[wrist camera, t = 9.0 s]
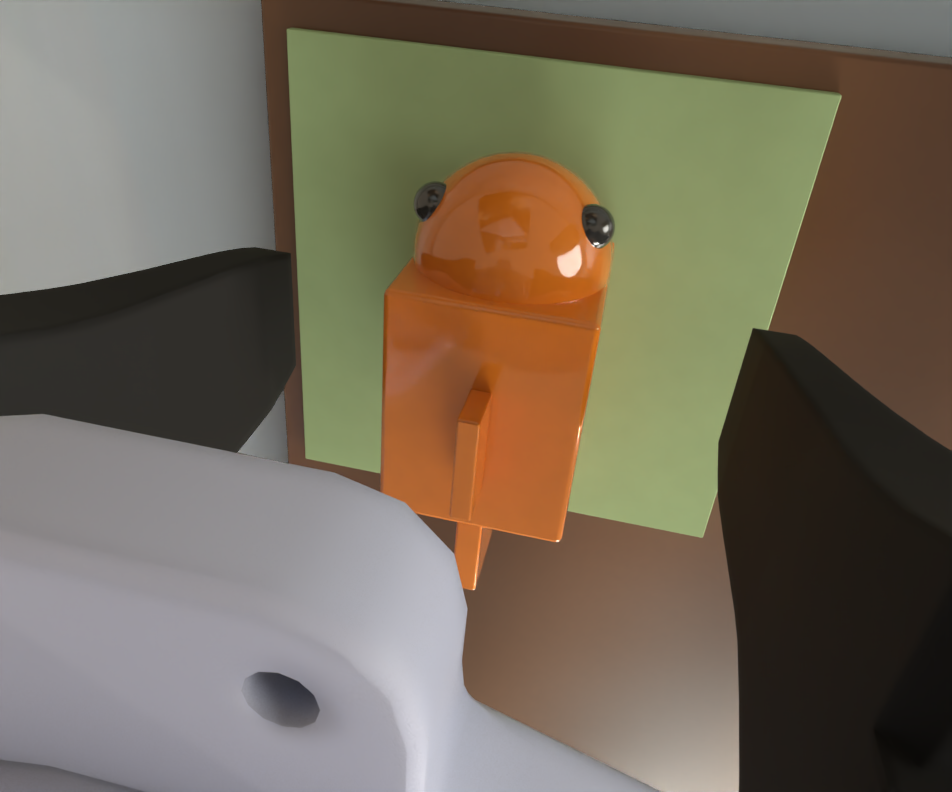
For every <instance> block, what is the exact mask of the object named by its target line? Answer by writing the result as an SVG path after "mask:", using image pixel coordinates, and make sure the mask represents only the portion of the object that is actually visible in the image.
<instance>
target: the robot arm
mask: <svg viewBox="0 0 952 792" xmlns="http://www.w3.org/2000/svg"><path fill="white" fill-rule="evenodd" d="M295 366H296V350H295V329H294V308H293V288H292V267H291V253H287V252H280V251H274V250H268V249H262V248H256V247H254V248H240V249H233V250H227V251H222V252H217V253H212V254H208V255H204V256H199V257H195V258H191V259H187V260H183V261H179V262H174V263H170V264H166V265H162V266H158V267H154V268H150V269H146V270H141V271H137V272H132V273H128V274H123V275H118V276H114V277H109V278H104V279H100V280H95V281H91V282H86V283H81V284H75V285H70V286H64V287H58V288H51V289H45V290H37V291H30V292H22V293H15V294H6V295H0V792H661V791H659V790H657V789H655V788H653V787H651V786H649V785H647V784H645V783H643V782H641V781H639V780H637V779H635V778H633V777H631V776H629V775H627V774H625V773H623V772H621V771H619V770H617V769H614V768H612V767H610V766H608V765H606V764H604V763H602V762H600V761H598V760H596V759H594V758H592V757H590V756H588V755H586V754H584V753H582V752H580V751H578V750H576V749H574V748H572V747H570V746H568V745H566V744H564V743H562V742H560V741H558V740H556V739H554V738H552V737H549V736H547V735H545V734H543V733H541V732H539V731H537V730H535V729H533V728H531V727H529V726H527V725H525V724H523V723H521V722H519V721H517V720H515V719H513V718H511V717H509V716H507V715H505V714H503V713H501V712H499V711H497V710H495V709H493V708H491V707H489V706H487V705H485V704H482V703H480V702H478V701H476V700H475V699H474V698H473V697H472V696H471V695H470V694H469V693H468V692H467V690H466V688H465V686H464V680H463V668H462V656H463V647H464V637H465V628H466V619H467V609H468V608H467V604H466V600H465V596H464V592H463V588H462V584H461V580H460V576H459V572H458V567H457V563H456V559H455V555H454V553H453V552H452V551H451V550H450V549H449V548H448V547H447V546H446V545H445V544H444V543H443V542H442V541H441V540H440V539H439V537H438V536H437V535H436V534H435V533H434V532H433V531H432V530H431V529H430V528H429V527H428V526H427V525H426V524H425V523H424V522H423V521H422V520H421V519H420V518H419V517H418V516H417V514H416V513H415V512H414V511H413V510H412V509H411V508H410V507H409V506H408V505H407V504H406V503H405V502H403V501H400V500H398V499H395V498H393V497H391V496H388V495H386V494H384V493H381V492H379V491H377V490H374V489H372V488H370V487H367V486H365V485H362V484H360V483H358V482H355V481H353V480H351V479H348V478H346V477H344V476H341V475H339V474H336V473H334V472H329V471H324V470H319V469H314V468H309V467H304V466H299V465H294V464H289V463H284V462H279V461H274V460H269V459H264V458H259V457H254V456H249V455H244V454H239V453H237V452H238V451H239V450H240V448H241V447H242V446H243V445H244V443H245V442H246V441H247V440H248V438H249V437H250V436H251V435H252V433H253V432H254V431H255V430H256V428H257V427H258V426H259V425H260V423H261V422H262V421H263V420H264V418H265V417H266V416H267V414H268V413H269V412H270V411H271V409H272V408H273V406H274V404H275V402H276V401H277V399H278V397H279V396H280V394H281V392H282V391H283V389H284V387H285V385H286V383H287V381H288V380H289V378H290V376H291V374H292V372H293V370H294V368H295ZM718 502H719V510H720V517H721V524H722V531H723V538H724V545H725V552H726V559H727V565H728V572H729V579H730V585H731V592H732V599H733V606H734V612H735V622H736V632H737V645H738V687H739V792H952V451H951V450H949V449H948V448H946V447H945V446H943V445H941V444H940V443H938V442H937V441H935V440H934V439H932V438H931V437H929V436H928V435H926V434H925V433H923V432H922V431H921V430H919V429H918V428H916V427H915V426H914V425H912V424H911V423H909V422H908V421H907V420H905V419H904V418H902V417H901V416H900V415H898V414H897V413H895V412H894V411H893V410H891V409H890V408H889V407H887V406H886V405H885V404H884V403H882V402H881V401H880V400H878V399H877V398H876V397H874V396H873V395H872V394H871V393H869V392H868V391H867V390H866V389H864V388H863V387H862V386H861V385H860V384H858V383H857V382H856V381H855V380H853V379H852V378H851V377H850V376H849V375H847V374H846V373H845V372H844V371H843V370H841V369H840V368H839V367H838V366H837V365H835V364H834V363H833V362H832V361H831V360H830V359H828V358H827V357H826V356H825V355H823V354H822V353H821V352H820V351H819V350H817V349H816V348H815V347H813V346H812V345H811V344H810V343H808V342H807V341H805V340H804V339H802V338H801V337H799V336H797V335H793V334H787V333H781V332H775V331H769V330H763V329H756V328H753V329H752V332H751V336H750V339H749V342H748V346H747V349H746V352H745V355H744V359H743V362H742V365H741V369H740V372H739V375H738V379H737V382H736V385H735V389H734V392H733V395H732V399H731V402H730V405H729V408H728V412H727V415H726V418H725V422H724V425H723V428H722V432H721V435H720V438H719V442H718Z"/></svg>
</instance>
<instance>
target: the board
mask: <svg viewBox="0 0 952 792" xmlns="http://www.w3.org/2000/svg"><path fill="white" fill-rule="evenodd" d="M261 6H262V23H263V40H264V57H265V74H266V91H267V108H268V125H269V141H270V158H271V175H272V192H273V209H274V226H275V243H276V251H280V252H287V253H291V267H292V288H293V308H294V329H295V350H296V366H295V368H294V370H293V372H292V374H291V376H290V378H289V380H288V381H287V383H286V385H285V387H284V396H285V413H286V430H287V447H288V463H289V464H294V465H299V466H304V467H309V468H314V469H319V470H324V471H329V472H334V473H336V474H339V475H341V476H344V477H346V478H348V479H351V480H353V481H355V482H358V483H360V484H362V485H365V486H367V487H370V488H372V489H374V490H377V491H379V492H380V473H376V472H371V471H366V470H361V469H356V468H351V467H346V466H341V465H336V464H331V463H326V462H321V461H316V460H311V459H306V458H305V436H304V414H303V391H302V369H301V346H300V323H299V301H298V278H297V256H296V233H295V211H294V188H293V165H292V143H291V120H290V98H289V75H288V53H287V29H288V28H301V29H309V30H318V31H326V32H334V33H343V34H351V35H359V36H368V37H376V38H385V39H393V40H401V41H410V42H418V43H426V44H435V45H443V46H452V47H460V48H468V49H477V50H485V51H494V52H502V53H510V54H519V55H527V56H535V57H544V58H552V59H561V60H569V61H577V62H586V63H594V64H602V65H611V66H619V67H628V68H636V69H644V70H653V71H661V72H669V73H678V74H686V75H695V76H703V77H711V78H720V79H728V80H737V81H745V82H753V83H762V84H770V85H778V86H787V87H795V88H804V89H812V90H820V91H829V92H837V93H839V94H841V100H840V103H839V106H838V109H837V112H836V116H835V119H834V122H833V125H832V128H831V131H830V135H829V138H828V141H827V144H826V147H825V151H824V154H823V157H822V160H821V163H820V166H819V170H818V173H817V176H816V179H815V182H814V186H813V189H812V192H811V195H810V198H809V201H808V205H807V208H806V211H805V214H804V217H803V220H802V224H801V227H800V230H799V233H798V236H797V240H796V243H795V246H794V249H793V252H792V255H791V259H790V262H789V265H788V268H787V271H786V275H785V278H784V281H783V284H782V287H781V290H780V294H779V297H778V300H777V303H776V306H775V310H774V313H773V316H772V319H771V322H770V325H769V329H768V330H769V331H775V332H781V333H787V334H793V335H797V336H799V337H801V338H802V339H804V340H805V341H807V342H808V343H810V344H811V345H812V346H813V347H815V348H816V349H817V350H819V351H820V352H821V353H822V354H823V355H825V356H826V357H827V358H828V359H830V360H831V361H832V362H833V363H834V364H835V365H837V366H838V367H839V368H840V369H841V370H843V371H844V372H845V373H846V374H847V375H849V376H850V377H851V378H852V379H853V380H855V381H856V382H857V383H858V384H860V385H861V386H862V387H863V388H864V389H866V390H867V391H868V392H869V393H871V394H872V395H873V396H874V397H876V398H877V399H878V400H880V401H881V402H882V403H884V404H885V405H886V406H887V407H889V408H890V409H891V410H893V411H894V412H895V413H897V414H898V415H900V416H901V417H902V418H904V419H905V420H907V421H908V422H909V423H911V424H912V425H914V426H915V427H916V428H918V429H919V430H921V431H922V432H923V433H925V434H926V435H928V436H929V437H931V438H932V439H934V440H935V441H937V442H938V443H940V444H941V445H943V446H945V447H946V448H948V449H949V450H951V451H952V58H951V57H942V56H933V55H924V54H915V53H906V52H897V51H888V50H879V49H870V48H861V47H852V46H843V45H834V44H825V43H816V42H807V41H798V40H789V39H780V38H771V37H762V36H753V35H744V34H735V33H726V32H717V31H708V30H699V29H690V28H681V27H672V26H663V25H654V24H645V23H636V22H627V21H618V20H609V19H600V18H591V17H582V16H573V15H564V14H555V13H546V12H537V11H528V10H519V9H510V8H501V7H492V6H483V5H474V4H465V3H456V2H447V1H438V0H261ZM417 516H418V517H419V518H420V519H421V520H422V521H423V522H424V523H425V524H426V525H427V526H428V527H429V528H430V529H431V530H432V531H433V532H434V533H435V534H436V535H437V536H438V537H439V539H440V540H441V541H442V542H443V543H444V544H445V545H446V546H447V547H448V548H449V549H450V550H451V551H452V552H453V553H454V547H455V535H456V524H457V522H454V521H449V520H444V519H440V518H435V517H430V516H425V515H420V514H417ZM463 592H464V596H465V600H466V604H467V608H468V609H467V619H466V628H465V637H464V647H463V656H462V668H463V680H464V686H465V688H466V690H467V692H468V693H469V694H470V695H471V696H472V697H473V698H474V699H475V700H476V701H478V702H480V703H482V704H485V705H487V706H489V707H491V708H493V709H495V710H497V711H499V712H501V713H503V714H505V715H507V716H509V717H511V718H513V719H515V720H517V721H519V722H521V723H523V724H525V725H527V726H529V727H531V728H533V729H535V730H537V731H539V732H541V733H543V734H545V735H547V736H549V737H552V738H554V739H556V740H558V741H560V742H562V743H564V744H566V745H568V746H570V747H572V748H574V749H576V750H578V751H580V752H582V753H584V754H586V755H588V756H590V757H592V758H594V759H596V760H598V761H600V762H602V763H604V764H606V765H608V766H610V767H612V768H614V769H617V770H619V771H621V772H623V773H625V774H627V775H629V776H631V777H633V778H635V779H637V780H639V781H641V782H643V783H645V784H647V785H649V786H651V787H653V788H655V789H657V790H659V791H661V792H739V687H738V645H737V632H736V622H735V612H734V606H733V599H732V592H731V585H730V579H729V572H728V565H727V559H726V552H725V545H724V538H723V531H722V524H721V517H720V510H719V502H718V491H717V494H716V497H715V500H714V504H713V507H712V510H711V513H710V516H709V519H708V523H707V526H706V529H705V532H704V535H703V537H702V538H700V537H695V536H690V535H685V534H680V533H675V532H670V531H665V530H660V529H655V528H650V527H645V526H640V525H635V524H630V523H625V522H620V521H615V520H610V519H605V518H600V517H595V516H590V515H585V514H580V513H575V512H570V511H567V516H566V521H565V527H564V532H563V537H562V538H561V540H560V541H559V542H551V541H546V540H541V539H537V538H532V537H527V536H522V535H517V534H512V533H508V532H503V531H498V530H493V531H492V534H491V538H490V541H489V544H488V548H487V551H486V554H485V558H484V561H483V565H482V568H481V571H480V575H479V578H478V582H477V585H476V588H475V589H474V590H469V589H464V588H463Z"/></svg>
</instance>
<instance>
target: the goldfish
mask: <svg viewBox="0 0 952 792" xmlns="http://www.w3.org/2000/svg"><path fill="white" fill-rule="evenodd" d="M413 207H414V212H415V214H416V216H417V217H418V219H419V220H418V223H417V227H416V231H415V235H414V242H413V256H412V257H411V259H410V260H409V261H408V262H407V264H406V265H405V266H404V267H403V269H402V270H401V271H400V272H399V274H398V275H397V276H396V277H395V279H394V280H393V281H392V282H391V284H390V285H389V286H388V287H387V289H386V290H385V292H384V311H383V362H382V414H381V466H380V492H381V493H384V494H386V495H388V496H391V497H393V498H395V499H398V500H400V501H403V502H405V503H406V504H407V505H408V506H409V507H410V508H411V509H412V510H413V511H414V512H415V513H416V514H420V515H425V516H430V517H435V518H440V519H444V520H449V521H454V522H457V524H456V535H455V547H454V555H455V559H456V563H457V567H458V572H459V576H460V580H461V584H462V588H464V589H469V590H474V589H475V588H476V585H477V582H478V578H479V575H480V571H481V568H482V565H483V561H484V558H485V554H486V551H487V548H488V544H489V541H490V538H491V534H492V531H493V530H498V531H503V532H508V533H512V534H517V535H522V536H527V537H532V538H537V539H541V540H546V541H551V542H559V541H560V540H561V538H562V537H563V532H564V527H565V521H566V516H567V511H568V505H569V500H570V494H571V489H572V484H573V478H574V473H575V468H576V462H577V457H578V452H579V446H580V441H581V435H582V430H583V425H584V419H585V414H586V409H587V403H588V398H589V393H590V387H591V382H592V376H593V371H594V366H595V360H596V355H597V350H598V344H599V339H600V334H601V328H602V322H603V316H604V310H605V304H606V298H607V293H608V287H609V281H610V275H611V270H612V263H613V257H614V251H615V245H614V242H612V238H613V236H614V233H615V220H614V217H613V215H612V214H611V212H610V211H609V210H608V209H607V208H605V207H604V206H602V205H601V203H600V201H599V200H598V198H597V197H596V195H595V193H594V192H593V190H592V189H591V188H590V187H589V186H588V185H587V183H586V182H585V181H584V180H583V179H582V178H581V177H580V176H578V175H577V174H576V173H575V172H574V171H572V170H571V169H569V168H568V167H566V166H565V165H563V164H561V163H559V162H557V161H556V160H554V159H551V158H548V157H546V156H543V155H540V154H535V153H530V152H521V151H508V152H498V153H493V154H489V155H485V156H482V157H479V158H476V159H474V160H472V161H470V162H468V163H466V164H464V165H462V166H461V167H459V168H458V169H457V170H455V171H454V172H453V173H451V174H450V175H448V176H447V177H446V178H445V179H444V180H443V181H442V182H440V181H431V182H427V183H425V184H424V185H422V186H421V187H420V188H419V189H418V190H417V192H416V194H415V196H414V200H413Z"/></svg>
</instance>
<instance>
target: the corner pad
mask: <svg viewBox="0 0 952 792" xmlns="http://www.w3.org/2000/svg"><path fill="white" fill-rule="evenodd" d="M287 53H288V75H289V98H290V120H291V143H292V165H293V188H294V211H295V233H296V256H297V278H298V301H299V323H300V346H301V369H302V391H303V414H304V436H305V458H306V459H311V460H316V461H321V462H326V463H331V464H336V465H341V466H346V467H351V468H356V469H361V470H366V471H371V472H376V473H380V466H381V414H382V362H383V311H384V292H385V290H386V289H387V287H388V286H389V285H390V284H391V282H392V281H393V280H394V279H395V277H396V276H397V275H398V274H399V272H400V271H401V270H402V269H403V267H404V266H405V265H406V264H407V262H408V261H409V260H410V259H411V257H412V256H413V242H414V235H415V231H416V227H417V223H418V220H419V219H418V217H417V216H416V214H415V212H414V207H413V200H414V196H415V194H416V192H417V190H418V189H419V188H420V187H421V186H422V185H424V184H425V183H427V182H431V181H440V182H442V181H443V180H444V179H445V178H446V177H447V176H448V175H450V174H451V173H453V172H454V171H455V170H457V169H458V168H459V167H461V166H462V165H464V164H466V163H468V162H470V161H472V160H474V159H476V158H479V157H482V156H485V155H489V154H493V153H498V152H508V151H521V152H530V153H535V154H540V155H543V156H546V157H548V158H551V159H554V160H556V161H557V162H559V163H561V164H563V165H565V166H566V167H568V168H569V169H571V170H572V171H574V172H575V173H576V174H577V175H578V176H580V177H581V178H582V179H583V180H584V181H585V182H586V183H587V185H588V186H589V187H590V188H591V189H592V190H593V192H594V193H595V195H596V197H597V198H598V200H599V201H600V203H601V205H602V206H604V207H605V208H607V209H608V210H609V211H610V212H611V214H612V215H613V217H614V220H615V233H614V236H613V238H612V242H614V245H615V251H614V257H613V263H612V270H611V275H610V281H609V287H608V293H607V298H606V304H605V310H604V316H603V322H602V328H601V334H600V339H599V344H598V350H597V355H596V360H595V366H594V371H593V376H592V382H591V387H590V393H589V398H588V403H587V409H586V414H585V419H584V425H583V430H582V435H581V441H580V446H579V452H578V457H577V462H576V468H575V473H574V478H573V484H572V489H571V494H570V500H569V505H568V511H570V512H575V513H580V514H585V515H590V516H595V517H600V518H605V519H610V520H615V521H620V522H625V523H630V524H635V525H640V526H645V527H650V528H655V529H660V530H665V531H670V532H675V533H680V534H685V535H690V536H695V537H700V538H702V537H703V535H704V532H705V529H706V526H707V523H708V519H709V516H710V513H711V510H712V507H713V504H714V500H715V497H716V494H717V491H718V442H719V438H720V435H721V432H722V428H723V425H724V422H725V418H726V415H727V412H728V408H729V405H730V402H731V399H732V395H733V392H734V389H735V385H736V382H737V379H738V375H739V372H740V369H741V365H742V362H743V359H744V355H745V352H746V349H747V346H748V342H749V339H750V336H751V332H752V329H753V328H756V329H763V330H768V329H769V325H770V322H771V319H772V316H773V313H774V310H775V306H776V303H777V300H778V297H779V294H780V290H781V287H782V284H783V281H784V278H785V275H786V271H787V268H788V265H789V262H790V259H791V255H792V252H793V249H794V246H795V243H796V240H797V236H798V233H799V230H800V227H801V224H802V220H803V217H804V214H805V211H806V208H807V205H808V201H809V198H810V195H811V192H812V189H813V186H814V182H815V179H816V176H817V173H818V170H819V166H820V163H821V160H822V157H823V154H824V151H825V147H826V144H827V141H828V138H829V135H830V131H831V128H832V125H833V122H834V119H835V116H836V112H837V109H838V106H839V103H840V100H841V94H839V93H837V92H829V91H820V90H812V89H804V88H795V87H787V86H778V85H770V84H762V83H753V82H745V81H737V80H728V79H720V78H711V77H703V76H695V75H686V74H678V73H669V72H661V71H653V70H644V69H636V68H628V67H619V66H611V65H602V64H594V63H586V62H577V61H569V60H561V59H552V58H544V57H535V56H527V55H519V54H510V53H502V52H494V51H485V50H477V49H468V48H460V47H452V46H443V45H435V44H426V43H418V42H410V41H401V40H393V39H385V38H376V37H368V36H359V35H351V34H343V33H334V32H326V31H318V30H309V29H301V28H288V29H287Z"/></svg>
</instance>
